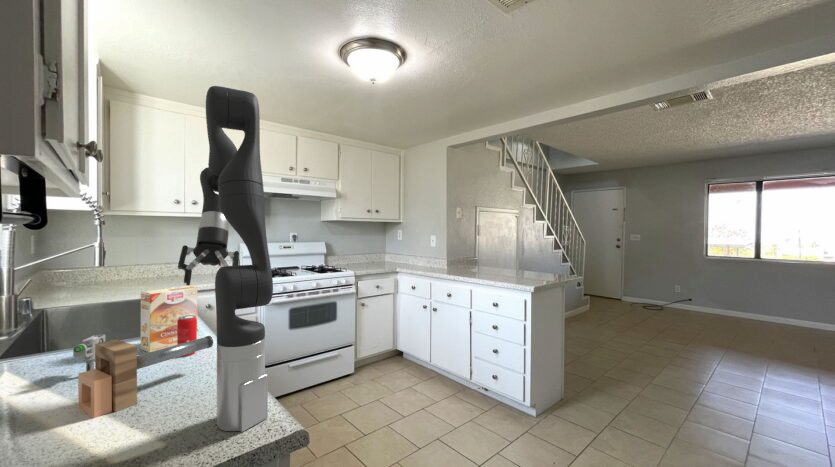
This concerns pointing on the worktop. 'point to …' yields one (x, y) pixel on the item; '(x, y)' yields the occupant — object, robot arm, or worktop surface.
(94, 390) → the orange block with hole
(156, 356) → the shaft
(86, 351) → the mechanical component
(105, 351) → the bearing block
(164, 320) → the coffeecake box
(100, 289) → the worktop surface
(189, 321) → the beverage can
